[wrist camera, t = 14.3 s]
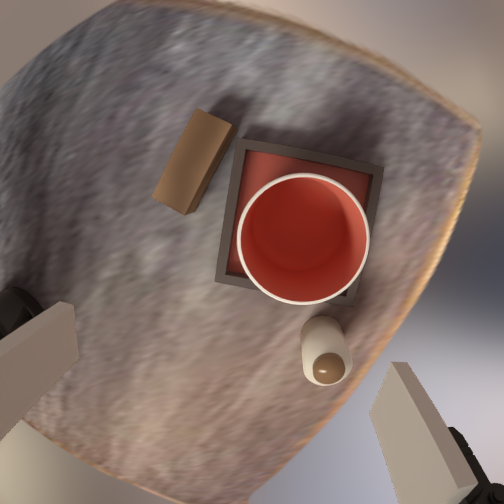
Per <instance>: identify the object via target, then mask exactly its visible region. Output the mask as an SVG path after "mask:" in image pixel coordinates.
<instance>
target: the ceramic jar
mask: <svg viewBox="0 0 504 504" xmlns="http://www.w3.org/2000/svg"><path fill="white" fill-rule="evenodd" d="M300 338H301V348H302V359H303V370H304V374H305V376H306V377H307V379H308V380H310V381H311V382H313V383H315V384H317V385H324V386H326V385H333V384H336V383H338V382H340V381H342V380H343V379H344V378H345V377H346V376H347V375H348V374H349V373H350V371H351V368H352V364H353V361H352V357H351V354H350V351H349V348H348V346H347V343H346V340H345V337H344V334H343V332H342V329H341V326H340V324H339V323H338V321H337V320H335V319H334V318H332V317H330V316H325V315H321V316H316V317H313V318H311V319H309V320H308V321H307V322H306V323H305V324H304V325H303V327H302V329H301V333H300Z"/></svg>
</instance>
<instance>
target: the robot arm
mask: <svg viewBox="0 0 504 504" xmlns="http://www.w3.org/2000/svg"><path fill="white" fill-rule="evenodd" d="M78 360H79V354H78V346H77V338H76V328H75V317H74V305H71V304H68V303H64V302H61V301H60V302H58V303H56V304H55V305H53V306H52V307H50V308H49V309H47V310H45V311H43V310H42V308H41V307H40V305H39V304H38V303H37V302H36V301H35V299H34V298H33V297H31V296H30V295H29V294H28V293H27V292H25V291H23V290H22V289H19V288H15V287H11V288H8V289H6V290H4V291H1V292H0V441H1V440H2V439H3V438H4V437H5V436H6V434H7V433H8V432H9V431H10V430H11V429H12V428H13V427H14V426H15V425H16V423H18V421H19V420H20V419H21V418H22V417H23V416H24V415H25V414H26V413H27V412H28V411H29V410H30V409H31V408H32V407H33V406H34V405H35V404H36V403H37V402H38V400H39V399H40V398H41V397H42V396H43V395H44V394H45V393H46V392H47V391H48V390H49V389H50V388H51V387H52V386H53V385H54V384H55V383H56V382H57V381H58V380H59V379H60V378H61V377H62V376H63V375H64V374H65V373H66V372H67V371H68V370H69V369H70V368H71V367H72V366H73V365H74V364H75V363H76V362H77V361H78ZM369 414H370V417H371V419H372V422H373V425H374V428H375V431H376V434H377V437H378V440H379V443H380V446H381V448H382V452H383V455H384V458H385V461H386V464H387V467H388V470H389V473H390V476H391V480H392V483H393V486H394V489H395V492H396V496H397V499H398V502H399V504H504V485H502V484H498V483H492V484H491V483H490V482H489V480H488V478H487V476H486V474H485V473H484V471H483V469H482V467H481V466H480V464H479V462H478V460H477V459H476V457H475V455H473V452H472V450H471V448H470V447H468V443H467V442H466V440H465V438H464V437H463V435H462V434H460V433H459V432H458V431H457V430H456V429H455V428H454V427H447V426H446V424H445V422H444V421H443V419H442V417H441V416H440V414H439V412H438V411H437V409H436V407H435V406H434V404H433V403H432V401H431V399H430V398H429V396H428V394H427V393H426V391H425V390H424V388H423V387H422V385H421V384H420V382H419V380H418V379H417V377H416V375H415V374H414V372H413V371H412V369H411V368H410V366H409V365H408V363H407V362H391V363H390V366H389V368H388V371H387V373H386V376H385V378H384V381H383V383H382V386H381V388H380V390H379V392H378V395H377V397H376V399H375V401H374V404H373V406H372V408H371V410H370V412H369Z"/></svg>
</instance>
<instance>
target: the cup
mask: <svg viewBox="0 0 504 504" xmlns="http://www.w3.org/2000/svg"><path fill="white" fill-rule="evenodd" d="M369 243H370V233H369V226H368V221H367V218H366V215H365V213H364V210H363V208H362V207H361V205H360V203H359V202H358V200H357V199H356V198H355V196H354V195H353V194H352V193H351V192H350V191H349V190H348V189H347V188H345V187H344V186H343V185H341V184H340V183H338V182H337V181H335V180H333V179H331V178H328V177H325V176H322V175H318V174H313V173H295V174H289V175H285V176H282V177H279V178H277V179H275V180H273V181H271V182H269V183H268V184H266V185H265V186H263V187H262V188H261V189H260V190H259V191H257V192H256V193H255V195H254V196H253V197H252V198H251V199H250V201H249V202H248V204H247V205H246V207H245V209H244V211H243V213H242V215H241V218H240V221H239V225H238V230H237V248H238V254H239V258H240V261H241V263H242V266H243V268H244V270H245V272H246V273H247V275H248V276H249V278H250V279H251V280H252V282H253V283H254V284H255V285H256V286H257V287H258V288H259V289H260V290H262V291H263V292H264V293H266V294H267V295H269V296H271V297H273V298H275V299H277V300H279V301H282V302H286V303H290V304H297V305H309V304H316V303H320V302H323V301H326V300H329V299H331V298H333V297H335V296H337V295H338V294H340V293H341V292H343V291H344V290H345V289H347V288H348V287H349V286H350V285H351V284H352V283H353V281H354V280H355V279H356V278H357V276H358V275H359V274H360V272H361V270H362V268H363V266H364V264H365V262H366V259H367V255H368V251H369Z"/></svg>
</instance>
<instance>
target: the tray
mask: <svg viewBox="0 0 504 504" xmlns="http://www.w3.org/2000/svg"><path fill="white" fill-rule="evenodd" d="M383 172H384V167H380V166H376V165H373V164H369V163H365V162H361V161H357V160H352V159H348V158H344V157H340V156H335V155H331V154H326V153H321V152H317V151H312V150H307V149H302V148H296V147H291V146H286V145H280V144H274V143H268V142H262V141H256V140H249V139H242V138H237V143H236V148H235V154H234V160H233V166H232V172H231V178H230V184H229V190H228V196H227V202H226V208H225V215H224V221H223V228H222V234H221V241H220V248H219V254H218V261H217V268H216V275H215V282H218V283H223V284H229V285H234V286H239V287H244V288H249V289H254V290H259V291H262V290H260V289H259V288H258V287H257V286H256V285H255V284H254V283H253V282H252V280H251V279H250V278H249V276H248V275H247V273H246V272H245V270H244V268H243V266H242V263H241V261H240V258H239V254H238V248H237V230H238V225H239V221H240V218H241V215H242V213H243V211H244V209H245V207H246V205H247V204H248V202H249V201H250V199H251V198H252V197H253V196H254V195H255V193H256V192H257V191H259V190H260V189H261V188H262V187H263V186H265V185H266V184H268V183H269V182H271V181H273V180H275V179H277V178H279V177H282V176H285V175H289V174H295V173H313V174H318V175H322V176H325V177H328V178H331V179H333V180H335V181H337V182H338V183H340V184H341V185H343V186H344V187H345V188H347V189H348V190H349V191H350V192H351V193H352V194H353V195H354V196H355V198H356V199H357V200H358V202H359V203H360V205H361V207H362V208H363V210H364V213H365V215H366V218H367V221H368V226H369V233H370V237H371V233H372V228H373V224H374V219H375V214H376V209H377V204H378V199H379V194H380V189H381V183H382V177H383ZM362 270H363V268H362ZM362 270H361V272H360V274H359V275H358V276H357V278H356V279H355V280H354V281H353V283H352V284H351V285H350V286H349V287H348V288H347V289H345V290H344V291H343V292H341V293H340V294H338V295H337V296H335V297H333V298H331V299H329V300H326V301H323V302H326V303H332V304H338V305H344V306H350V307H353V303H354V300H355V296H356V292H357V289H358V285H359V281H360V278H361V274H362Z"/></svg>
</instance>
